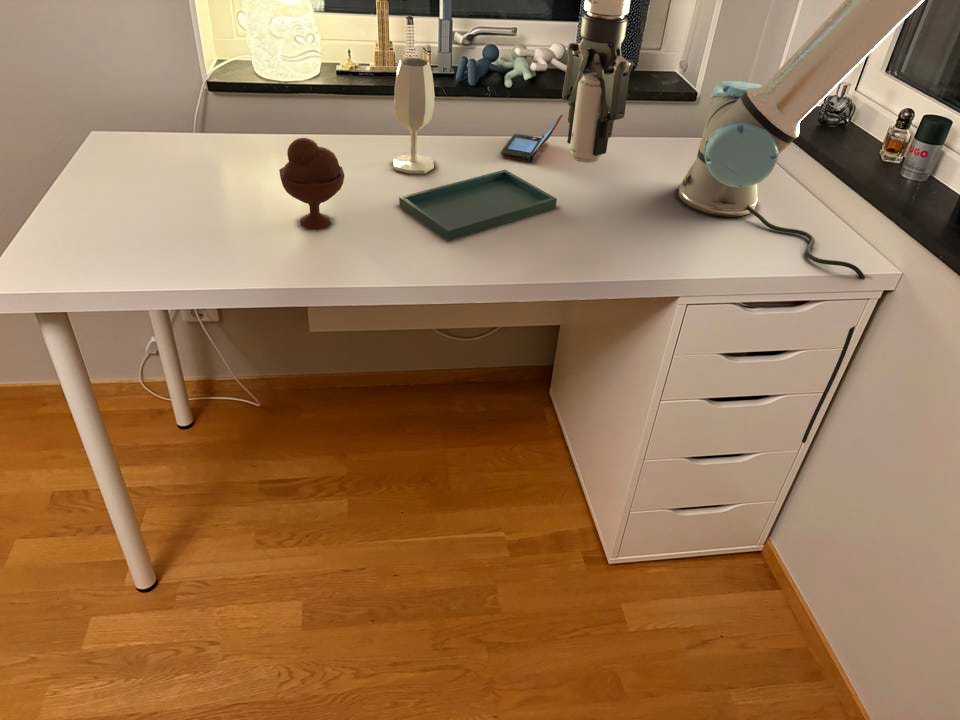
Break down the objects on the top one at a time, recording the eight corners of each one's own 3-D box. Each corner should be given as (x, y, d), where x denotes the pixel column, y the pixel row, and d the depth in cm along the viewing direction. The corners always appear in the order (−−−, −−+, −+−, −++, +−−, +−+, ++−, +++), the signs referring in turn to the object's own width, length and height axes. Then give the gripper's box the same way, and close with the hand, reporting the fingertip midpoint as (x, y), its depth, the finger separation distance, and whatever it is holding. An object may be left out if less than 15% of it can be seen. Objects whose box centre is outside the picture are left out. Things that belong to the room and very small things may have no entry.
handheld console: (513, 138, 173) (516, 105, 169) (559, 146, 171) (564, 113, 167) (498, 157, 164) (501, 123, 159) (547, 166, 162) (551, 132, 157)
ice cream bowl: (287, 239, 129) (278, 155, 120) (282, 210, 138) (274, 129, 129) (349, 235, 132) (346, 152, 123) (341, 206, 140) (337, 127, 131)
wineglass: (428, 177, 153) (431, 71, 140) (387, 171, 154) (385, 65, 141) (439, 161, 160) (442, 58, 147) (399, 155, 161) (399, 53, 148)
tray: (555, 208, 146) (557, 198, 145) (448, 241, 132) (448, 231, 131) (504, 178, 155) (505, 169, 154) (399, 206, 142) (399, 196, 141)
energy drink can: (578, 148, 144) (589, 67, 135) (606, 156, 142) (619, 75, 133) (563, 158, 140) (573, 75, 131) (591, 166, 138) (604, 82, 129)
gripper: (550, 3, 130) (537, 135, 144) (632, 29, 118) (609, 169, 132) (581, -1, 134) (566, 128, 148) (663, 24, 122) (638, 161, 136)
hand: (586, 147), depth 140 cm, fingers closed on energy drink can, 6 cm apart
